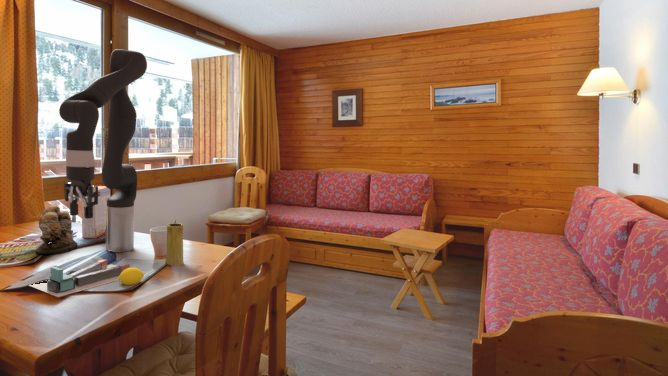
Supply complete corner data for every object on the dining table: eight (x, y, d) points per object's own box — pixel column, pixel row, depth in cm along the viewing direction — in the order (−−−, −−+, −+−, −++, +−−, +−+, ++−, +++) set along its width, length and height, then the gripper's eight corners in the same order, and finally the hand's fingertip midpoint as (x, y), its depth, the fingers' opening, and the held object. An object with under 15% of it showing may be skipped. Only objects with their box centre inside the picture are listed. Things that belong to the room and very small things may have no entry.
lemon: (118, 290, 116) (115, 272, 116) (122, 283, 122) (119, 266, 121) (144, 286, 118) (141, 268, 118) (146, 279, 123) (144, 263, 123)
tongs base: (56, 293, 109) (56, 283, 108) (47, 290, 111) (47, 280, 110) (130, 272, 128) (130, 264, 128) (121, 270, 130) (121, 261, 130)
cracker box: (97, 231, 182) (97, 185, 179) (111, 231, 182) (111, 186, 180) (80, 238, 168) (80, 189, 165) (95, 238, 168) (95, 189, 166)
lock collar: (61, 291, 109) (60, 270, 108) (49, 286, 112) (49, 266, 111) (73, 288, 112) (73, 268, 111) (61, 283, 114) (61, 264, 114)
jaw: (73, 284, 115) (73, 275, 115) (67, 283, 116) (67, 274, 115) (107, 267, 131) (107, 259, 131) (102, 267, 131) (102, 259, 131)
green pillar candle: (177, 267, 138) (177, 227, 136) (161, 265, 139) (161, 225, 137) (187, 262, 144) (187, 224, 142) (171, 260, 145) (172, 222, 143)
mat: (28, 287, 113) (28, 285, 113) (112, 265, 135) (112, 264, 135) (58, 299, 106) (58, 297, 106) (141, 274, 129) (141, 273, 128)
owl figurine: (63, 256, 143) (62, 209, 141) (26, 256, 140) (24, 209, 138) (83, 243, 160) (83, 201, 158) (50, 243, 158) (49, 201, 156)
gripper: (54, 163, 125) (55, 215, 126) (82, 166, 118) (83, 221, 120) (78, 163, 131) (79, 212, 133) (106, 166, 125) (107, 217, 127)
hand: (81, 216), depth 127 cm, fingers open, 7 cm apart
